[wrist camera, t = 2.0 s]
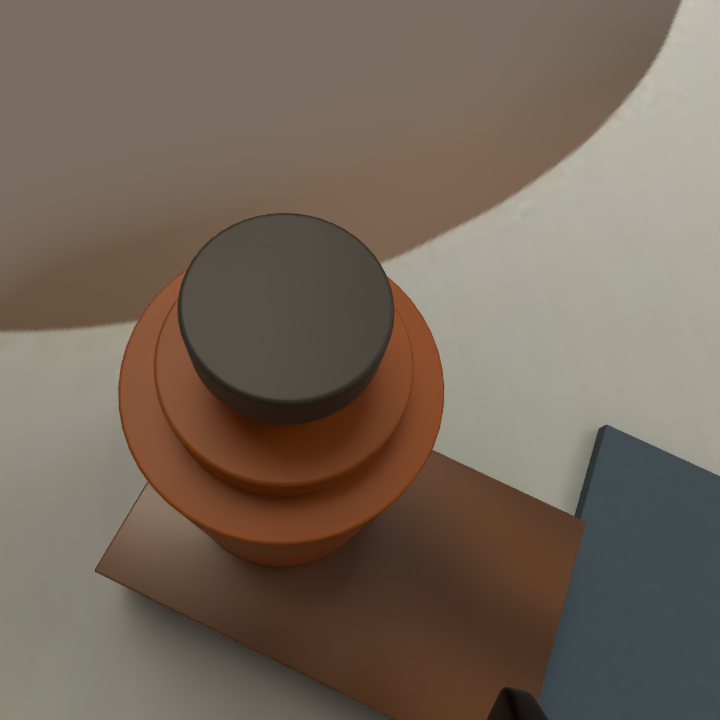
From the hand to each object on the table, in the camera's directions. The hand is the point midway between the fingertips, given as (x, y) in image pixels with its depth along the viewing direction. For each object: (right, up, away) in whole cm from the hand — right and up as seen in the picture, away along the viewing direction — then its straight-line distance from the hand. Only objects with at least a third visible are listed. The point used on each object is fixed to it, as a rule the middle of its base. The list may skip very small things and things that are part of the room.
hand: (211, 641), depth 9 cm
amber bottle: (0, +1, +9) cm, 9 cm away
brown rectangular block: (+2, -3, +12) cm, 12 cm away
